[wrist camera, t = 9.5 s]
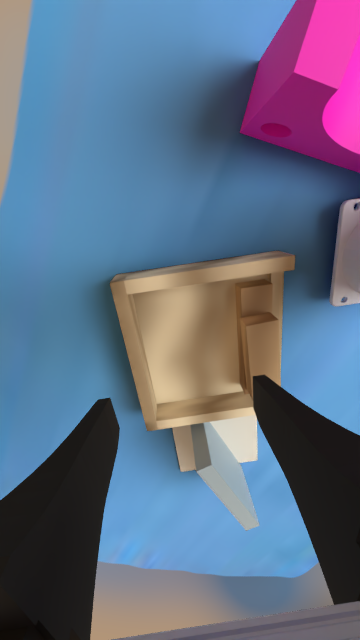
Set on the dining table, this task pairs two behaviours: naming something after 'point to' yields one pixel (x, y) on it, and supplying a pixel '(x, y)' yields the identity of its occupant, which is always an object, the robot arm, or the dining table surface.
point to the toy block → (311, 84)
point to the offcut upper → (260, 348)
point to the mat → (233, 433)
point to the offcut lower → (250, 311)
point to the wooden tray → (191, 335)
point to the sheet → (222, 473)
